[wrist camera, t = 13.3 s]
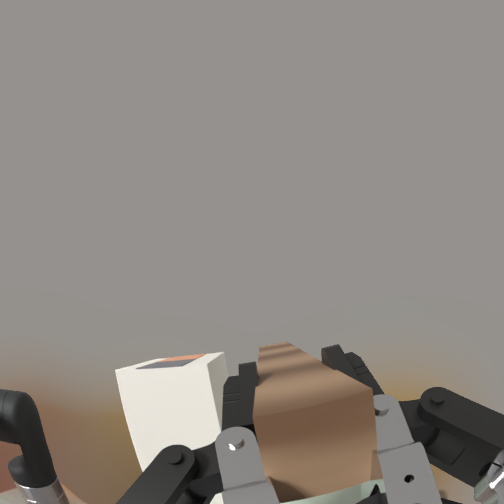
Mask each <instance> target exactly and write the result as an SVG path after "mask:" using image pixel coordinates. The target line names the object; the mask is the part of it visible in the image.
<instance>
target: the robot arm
mask: <svg viewBox="0 0 504 504" xmlns="http://www.w3.org/2000/svg"><path fill="white" fill-rule="evenodd" d="M321 352H322V363H323V364H324V365H326V366H328V367H329V368H331V369H333V370H338V371H340V372H342V373H344V374H345V375H347V376H349V377H351V378H353V379H355V380H357V381H359V382H361V383H363V384H365V385H366V386H368V387H370V388H372V390H373V399H374V408H375V419H376V432H377V449H375V450H372V461H371V475H370V481H367V482H364V483H362V484H361V501H359V502H358V503H356V504H462V503H457V502H454V501H450V500H447V499H443V498H440V494H439V491H438V488H437V484H436V482H435V478H434V475H433V472H432V469H431V466H430V463H431V464H433V465H434V466H436V467H438V468H439V469H441V470H443V471H445V472H447V473H448V474H450V475H452V476H453V477H455V478H457V479H459V480H461V481H463V482H465V483H466V484H468V485H470V486H472V487H474V494H475V495H474V499H475V501H478V502H479V501H480V502H481V503H482V504H504V415H502V414H501V413H498V412H496V411H494V410H491V409H489V408H487V407H485V406H482V405H480V404H478V403H476V402H473V401H471V400H469V399H467V398H464V397H462V396H460V395H458V394H456V393H454V392H452V391H450V390H447V389H445V388H442V387H434V388H430V389H428V390H426V391H425V392H424V393H423V394H422V396H421V398H420V399H418V400H411V401H397V400H396V399H395V398H394V397H392V396H389V395H385V394H384V392H383V391H382V389H381V388H380V386H379V385H378V383H377V382H376V380H375V379H374V377H373V376H372V374H371V373H370V372H369V370H368V368H367V366H365V364H364V362H363V361H362V359H361V357H359V356H357V355H356V354H354V353H353V352H350V353H346V354H344V352H343V351H342V349H341V347H340V346H339V345H338V344H337V345H333V346H329V347H325V348H322V351H321ZM258 379H259V375H258V370H257V366H256V362H250V363H243V364H239V376H232V377H228V379H227V380H226V382H225V383H224V385H223V406H222V430H221V433H220V434H219V435H218V436H217V438H216V440H215V441H214V442H213V443H211V444H209V445H207V446H204V447H201V448H198V449H194V450H191V449H190V448H188V447H187V446H184V445H179V444H178V445H170V446H168V447H165V448H164V449H162V450H161V451H160V452H159V453H158V455H157V456H156V457H155V458H154V460H153V461H152V462H151V463H150V464H149V466H148V467H147V468H146V469H145V470H144V472H143V473H142V474H141V475H140V476H139V478H138V479H137V480H136V481H135V482H134V483H133V485H132V486H131V487H130V488H129V489H128V490H127V492H126V493H125V494H124V495H123V496H122V497H121V498H120V500H119V501H118V502H117V503H116V504H210V502H211V501H212V499H213V498H214V496H215V494H219V493H222V499H223V503H224V504H280V503H279V500H278V498H277V495H276V493H275V490H274V487H273V485H272V482H271V480H270V477H269V476H266V477H265V474H264V469H263V465H262V460H261V456H260V451H259V446H258V441H257V437H256V432H255V427H254V422H253V417H252V416H253V407H254V398H255V388H256V387H258ZM0 441H4V442H8V443H14V444H18V445H20V446H21V450H22V453H23V455H20V456H17V457H15V458H13V459H12V460H11V461H10V462H9V464H8V469H9V472H10V474H11V476H12V478H13V480H14V482H15V484H16V486H17V488H18V490H19V492H20V494H21V496H22V497H23V499H24V501H25V503H26V504H71V503H70V502H69V500H68V498H67V496H66V494H65V492H64V490H63V488H62V486H61V484H60V482H59V479H58V478H57V475H56V473H55V470H54V467H53V463H52V458H51V455H50V452H49V449H48V446H47V443H46V439H45V436H44V432H43V428H42V424H41V420H40V416H39V413H38V410H37V408H36V405H35V403H34V401H33V399H32V398H31V397H30V396H29V395H28V394H27V393H24V392H19V391H11V390H3V389H0Z"/></svg>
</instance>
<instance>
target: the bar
mask: <svg viewBox="0 0 504 504" xmlns="http://www.w3.org/2000/svg"><path fill="white" fill-rule="evenodd" d="M257 370H258V375H259V379H258V387H256V388H255V398H254V407H253V416H252V417H253V422H254V427H255V432H256V437H257V441H258V446H259V451H260V456H261V460H262V465H263V469H264V474H265V477H266V476H269V477H270V480H271V482H272V485H273V487H274V490H275V493H276V495H277V498H278V500H279V503H285V502H291V501H297V500H302V499H307V498H311V497H316V496H320V495H324V494H328V493H332V492H336V491H339V490H343V489H346V488H349V487H352V486H356V485H359V484H362V483H364V482H367V481H370V475H371V461H372V450H375V449H377V432H376V419H375V408H374V399H373V390H372V388H370V387H368V386H366V385H365V384H363V383H361V382H359V381H357V380H355V379H353V378H351V377H349V376H347V375H345V374H344V373H342V372H340V371H338V370H333V369H331V368H329V367H328V366H326V365H324V364H323V363H322V361H320V360H318V359H316V358H315V357H313V356H311V355H309V354H307V353H306V352H304V351H302V350H300V349H299V348H297V347H295V346H294V345H292V344H290V343H288V342H281V343H276V344H271V345H265V346H260V348H259V359H258V368H257Z"/></svg>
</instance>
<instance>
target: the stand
mask: <svg viewBox="0 0 504 504" xmlns="http://www.w3.org/2000/svg"><path fill="white" fill-rule="evenodd" d="M115 371H116V377H117V382H118V386H119V391H120V396H121V400H122V405H123V409H124V413H125V417H126V421H127V424H128V428H129V431H130V435H131V438H132V441H133V445H134V448H135V451H136V454H137V457H138V460H139V463H140V466H141V469H142V471H143V472H144V470H145V469H146V468H147V467H148V466H149V464H150V463H151V462H152V461H153V460H154V458H155V457H156V456H157V455H158V453H159V452H160V451H161V450H162V449H164V448H165V447H168V446H170V445H178V444H179V445H184V446H187V447H188V448H190V449H191V450H194V449H198V448H201V447H204V446H207V445H209V444H211V443H213V442H214V441H215V440H216V438H217V436H218V435H219V434H220V433H221V430H222V406H223V385H224V383H225V382H226V380H227V379H228V372H227V366H226V361H225V355H224V352H220V353H212V354H198V355H189V356H179V357H171V358H163V359H154V360H151V361H147V362H143V363H140V364H136V365H133V366H129V367H125V368H121V369H117V370H115ZM210 504H224V503H223V499H222V493H219V494H215V496H214V498H213V499H212V501H211V502H210Z"/></svg>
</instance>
